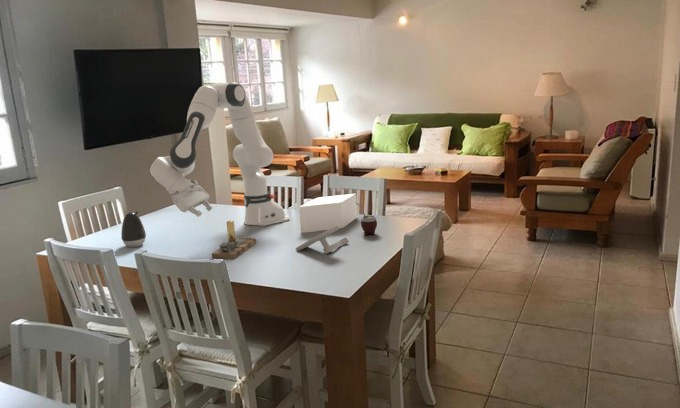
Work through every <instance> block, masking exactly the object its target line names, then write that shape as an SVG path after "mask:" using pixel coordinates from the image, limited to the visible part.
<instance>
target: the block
mask: <svg viewBox="0 0 680 408" xmlns="http://www.w3.org/2000/svg"><path fill="white" fill-rule="evenodd" d="M355 202H356V203H357V193H349V194H340V195H339V194H338V195H331V196H330V195H329V196H328V195H327V196H320V197H316V198H313V199H312V200H309V201H308V202H306V203H304V204H302V205H300V206H299V207H298V208H299V221H300V222H299V223H300V233H301V234H303V233H312V232H319V231H320V232H321V231H326V230H328V229H330V228H332V227H334V226H337V225H338V227H339V229H343V228H345V227H346V226H347V225H349V224H350V223H351V222H353V221H354V220H356V219H357V218H358V211H357V210H358V209H357V208H358V207H357V204H356V203H355Z"/></svg>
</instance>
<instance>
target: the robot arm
mask: <svg viewBox="0 0 680 408" xmlns="http://www.w3.org/2000/svg"><path fill="white" fill-rule="evenodd" d="M217 109H227V110H228V116H229V119H230V122H231V125H232V130H233V133H234V136H235V137H236V138H237V139H238V141H239V142H240V144H237V145H236V146H235V147H234V148H233V151H232V157H233V160H234V161H235V162H236V164H237V165H238V167H239V172H240V174H241V177H242V180H243V190H244V195H243V201H244V206H245V215H244V220H243V224H244V225H248V226H260V227H265V226H268V225H273V224H279V223H284V222H287V221H288V222H289V220H290V216H289V215H287V214H285V211H284V207H283V206H282V205H280V204H279V203H277V202H276V201H275V200H273V199H274V198H275V194H272V193H269V192H268V186H267V177H266V176H265V174H264V173H263V171H262V169H261V168H264V167H268V166H270V165H272V162H273V160H274V152H273V150H272V148H270V146H268V144H266V142H265V140H264V138H263V136H262V135H261V133H260V130H259V129H258V126H257V122H256V119H255V115H254V112H253V108H252V106H251V104H250V102H249V99H248V97H247V95H246V91H245V88H244V87H243V85H242V84H241V83H239V82H235V81H233V82H232V81H231V82H221V83H217V84H212V85H202V86H200V87H199V88H198V89H197V91H196V92H195V93H194V96H193V98H192V100H191V102H190V104H189V107H188V110H187V115H186V124H185V126H184V129H183V131H182V133H181V136H180V137H179V140H178V141H177V142H175V144H173V145H172V147H170V148H171V149H170V150H169V155H167V156H158V157H157V158H155V159H154V160H153V161H152V162H151V165H150V168H149V172H150V174H151V176H152V178H154V180H155V181H156V182H158V183H159V184H160V185H161V186H162V187H164V188H165V189H166V190H167V192H168V193H169V194H170V199H172V203H173V204H174V206H175V207H177V209H178V210H179V211H180V212H182V213H186V212H189V213H192V214H194V215H195V216H196V217H197V218H198V217H201V216H202V214H203V213H202V211H200V210H198V209H197V208H196V207H199V206H201V205H203V206H204V207H205V210H206V211H208V212H210V211H212V210H213V207H212V206H211V204H210V203H209V201H208V200H209V199H210V194H209V193H208V192H207V191H206V190H205V189H204V188H203V187H202V186H201V185H198V182H197V180H195V179H187V178H186V176H189V174H191V173H192V172H194V169H195V165H196V156H197V152H196V144H197V141H198V138H199V135H200V133H201V131H202V130H205V129H207V128H209V127H210V125H211V123H212V122H213V120H214V117H215V114H216V112H217Z"/></svg>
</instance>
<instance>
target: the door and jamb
mask: <svg viewBox="0 0 680 408" xmlns="http://www.w3.org/2000/svg"><path fill="white" fill-rule="evenodd" d="M235 238H236V241H238V243H237V244H236V245H235V246H234V242H228V241H223V242H221V243H220V244H219V245H218V246H219V248H217V249H216V250H214V251H213V252H211V259H228V260H229V259H233V260H234V259H237V258H238V257H240V255H242V254H243V253H244V252H246V251H247V250H248V249H250V248H251V247H253V246H254V245H255V244H256V243H257V239H256V238H255V237H253V238H252V237H235ZM223 247H228V251H224V250H223Z"/></svg>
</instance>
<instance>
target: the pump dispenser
mask: <svg viewBox="0 0 680 408" xmlns="http://www.w3.org/2000/svg"><path fill="white" fill-rule="evenodd" d="M138 214H139V211H135V212H132V211H131V212H127V213H126V214H125V215H124V218H123V220H122V226H121V240H122V243H123V244H124V245H125V246H126V247H129V248H137V247H140V246H142V245H143V244H144V243H145V241H146V238H147V233H146V230H145V227H144V224H143V222H142V220H141V219H140V217H139V215H138Z"/></svg>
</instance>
